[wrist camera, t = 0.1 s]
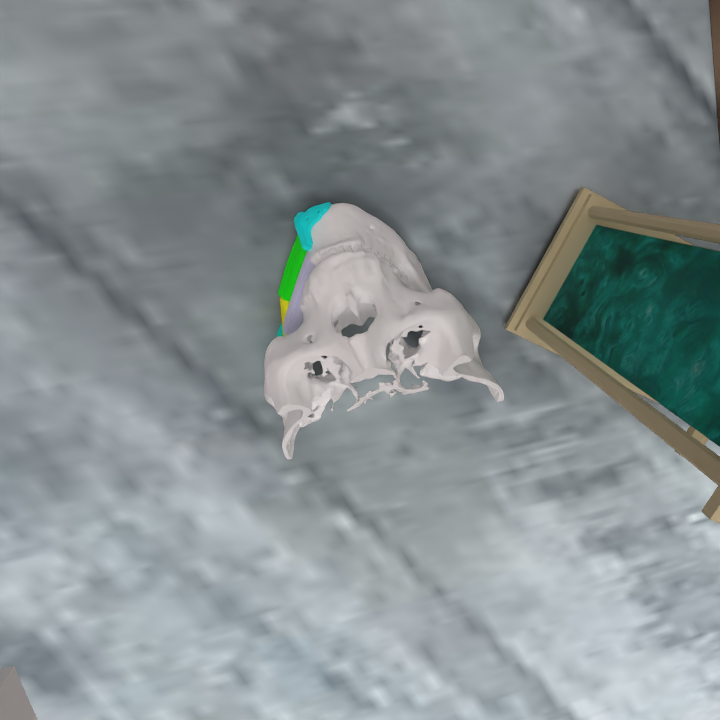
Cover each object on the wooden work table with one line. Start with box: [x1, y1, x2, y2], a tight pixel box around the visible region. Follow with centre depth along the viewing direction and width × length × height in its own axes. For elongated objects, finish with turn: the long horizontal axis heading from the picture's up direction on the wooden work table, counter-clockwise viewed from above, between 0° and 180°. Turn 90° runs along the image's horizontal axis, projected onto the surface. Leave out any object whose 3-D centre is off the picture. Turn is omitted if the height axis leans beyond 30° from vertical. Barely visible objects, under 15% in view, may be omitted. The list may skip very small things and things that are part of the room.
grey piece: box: [264, 202, 504, 459], centre depth 35 cm, size 12×9×10 cm
